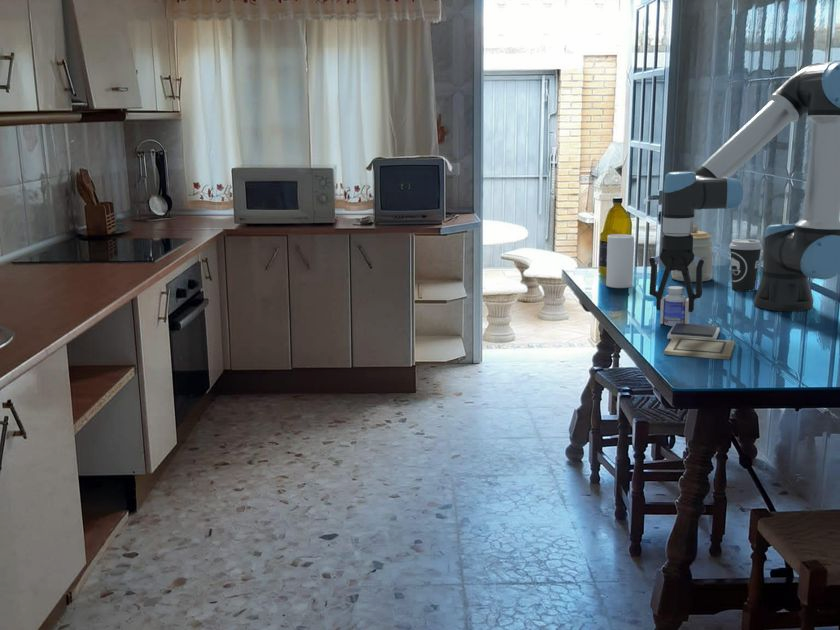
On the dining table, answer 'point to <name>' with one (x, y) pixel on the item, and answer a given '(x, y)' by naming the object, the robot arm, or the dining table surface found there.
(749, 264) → the coffee cup
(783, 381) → the dining table surface
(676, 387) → the dining table surface
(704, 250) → the jar
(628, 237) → the cup
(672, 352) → the marked board
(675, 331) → the ink pad
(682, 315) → the pill bottle
